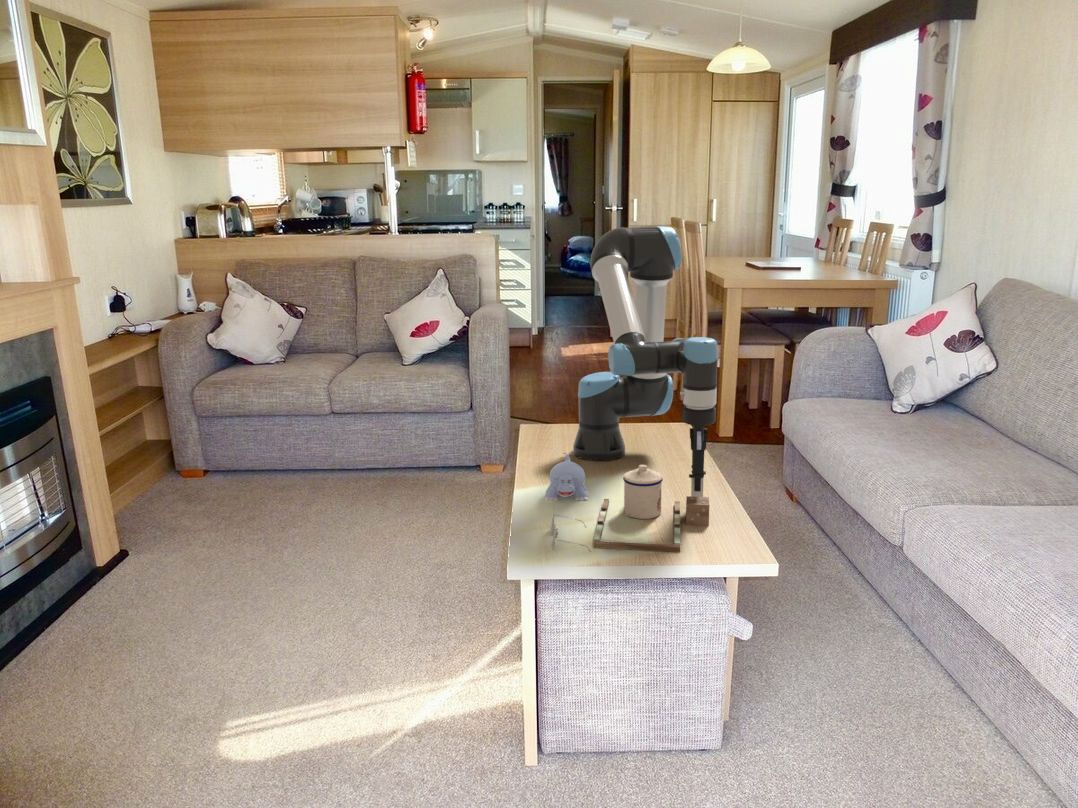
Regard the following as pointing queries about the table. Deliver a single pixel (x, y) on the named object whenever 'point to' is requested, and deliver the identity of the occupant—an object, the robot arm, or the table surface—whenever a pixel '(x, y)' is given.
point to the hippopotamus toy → (567, 481)
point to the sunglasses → (557, 532)
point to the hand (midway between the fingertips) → (696, 502)
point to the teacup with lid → (642, 493)
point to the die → (697, 510)
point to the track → (636, 546)
